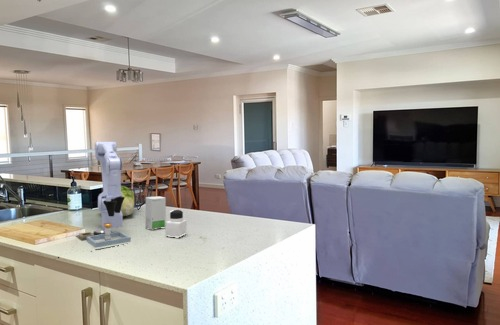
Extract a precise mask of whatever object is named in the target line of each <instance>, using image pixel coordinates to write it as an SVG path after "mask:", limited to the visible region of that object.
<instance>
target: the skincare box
mask: <svg viewBox="0 0 500 325" xmlns="http://www.w3.org/2000/svg"><path fill="white" fill-rule="evenodd" d="M166 201H167V199H166V197H164V196H160V195H159V196H146V197H145V221H144V222H145V225H144V226H145V227H146V228H145V229H147V228H149V229H155V228H161V227H165V228H166V219H167V218H166ZM149 229H148V230H149Z"/></svg>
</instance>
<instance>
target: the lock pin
mask: <svg viewBox="0 0 500 325" xmlns="http://www.w3.org/2000/svg"><path fill="white" fill-rule="evenodd" d="M111 226H112V223H105V224H104V227H105V239H104V241H108V240H112V237H111V233H112V228H111Z"/></svg>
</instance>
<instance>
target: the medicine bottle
mask: <svg viewBox="0 0 500 325" xmlns="http://www.w3.org/2000/svg"><path fill="white" fill-rule="evenodd" d="M183 214H184V211H182V210H181V209H172V210H170V211H169V217H168V218H169V220H167V221H165V236H166V235H170V236H180V235H182V234H184V233H186V234H187V219H184V218H183V217H184V215H183Z"/></svg>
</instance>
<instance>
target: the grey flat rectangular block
mask: <svg viewBox="0 0 500 325" xmlns="http://www.w3.org/2000/svg"><path fill="white" fill-rule="evenodd" d="M101 234H105V229H104V228H97V229H96V230H94V231H93V232H91V231H88V232H82V233H78V235H75V237H76V239H78V240H79V241H81V242H83V241H87V237H88V236H95V235H101Z"/></svg>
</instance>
